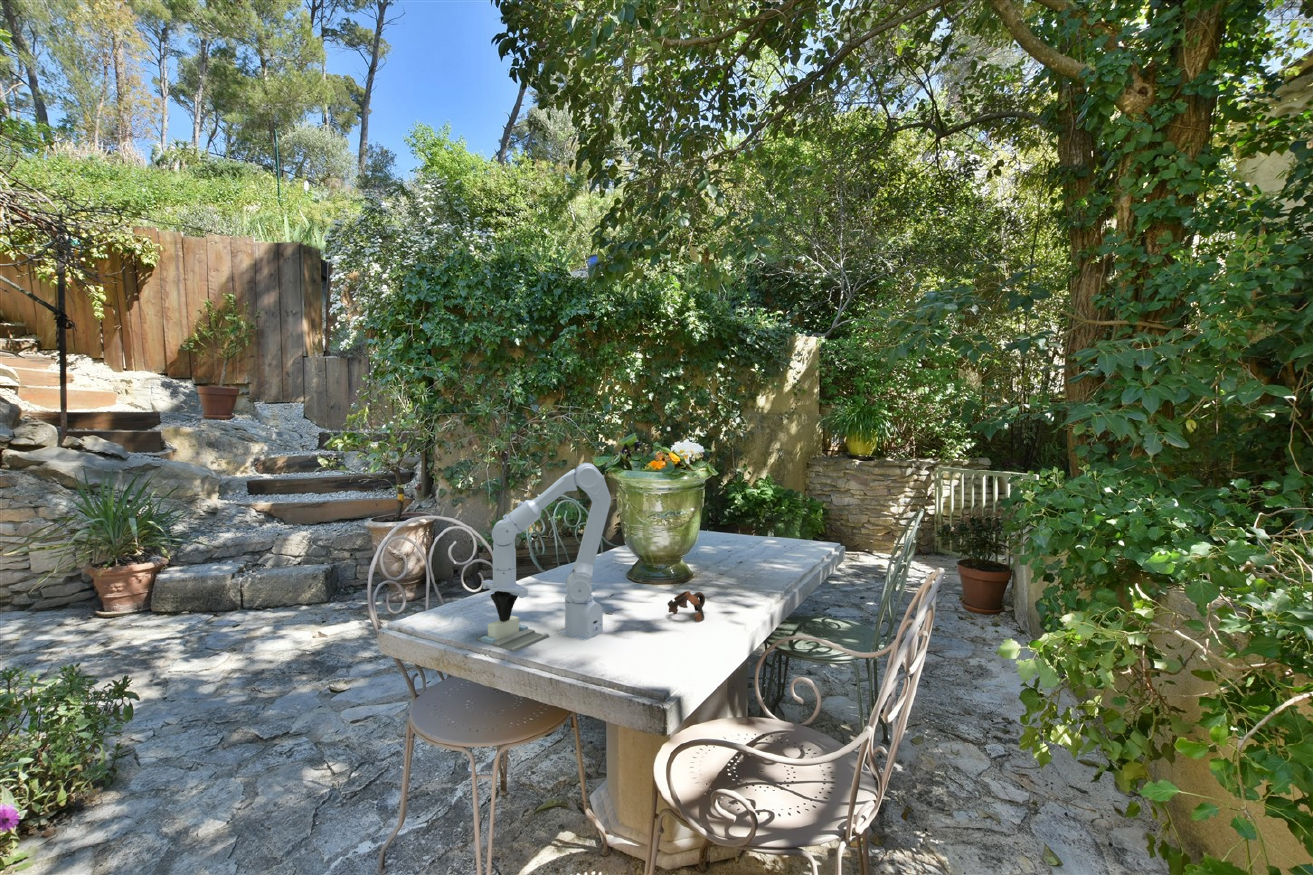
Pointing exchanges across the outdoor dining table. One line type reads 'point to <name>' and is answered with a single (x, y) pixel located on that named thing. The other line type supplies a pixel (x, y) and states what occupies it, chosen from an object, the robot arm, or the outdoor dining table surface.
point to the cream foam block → (503, 628)
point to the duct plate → (516, 639)
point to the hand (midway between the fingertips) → (504, 620)
